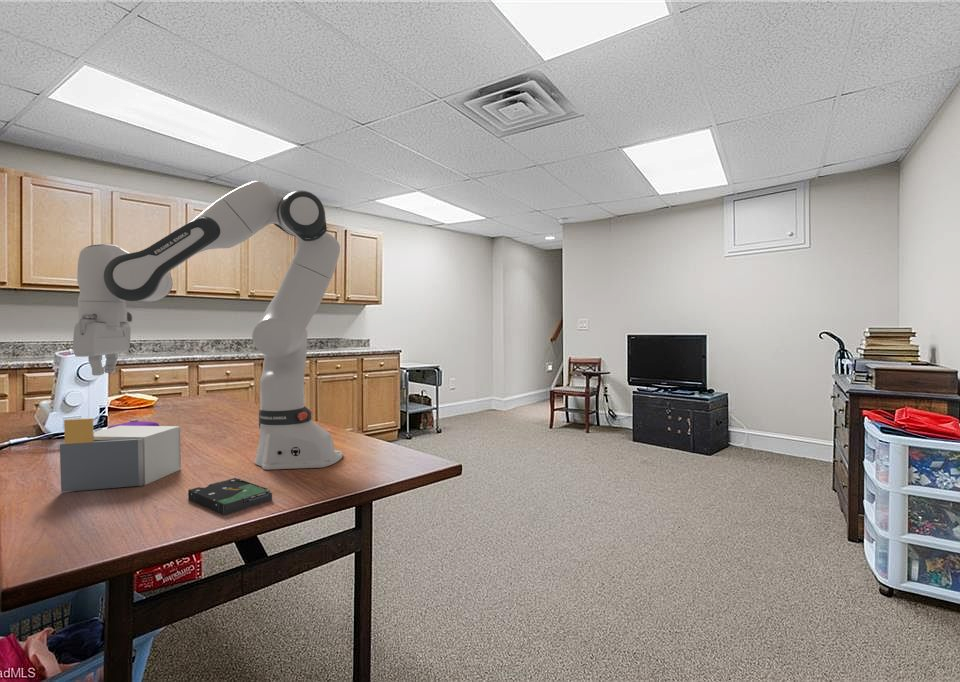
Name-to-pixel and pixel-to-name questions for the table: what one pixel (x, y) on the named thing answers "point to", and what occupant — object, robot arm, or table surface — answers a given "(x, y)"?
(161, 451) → the box
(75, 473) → the side door
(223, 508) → the disk drive
